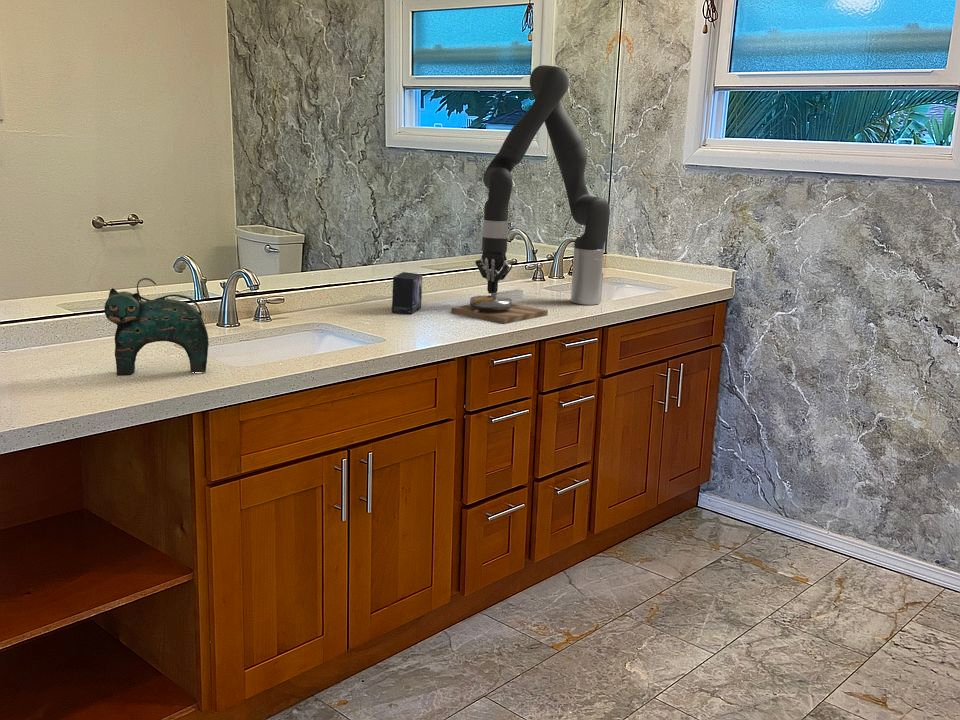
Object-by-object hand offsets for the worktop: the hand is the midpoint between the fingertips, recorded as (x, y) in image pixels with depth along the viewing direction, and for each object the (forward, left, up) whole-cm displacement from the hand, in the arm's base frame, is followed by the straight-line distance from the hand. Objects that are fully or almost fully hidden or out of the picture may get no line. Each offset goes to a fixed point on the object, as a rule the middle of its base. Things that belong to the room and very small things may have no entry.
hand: (492, 293), depth 286 cm
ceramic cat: (+114, +4, -5) cm, 114 cm away
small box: (+24, -12, -5) cm, 27 cm away
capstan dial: (+6, +7, -3) cm, 10 cm away
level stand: (+6, +8, -4) cm, 11 cm away
